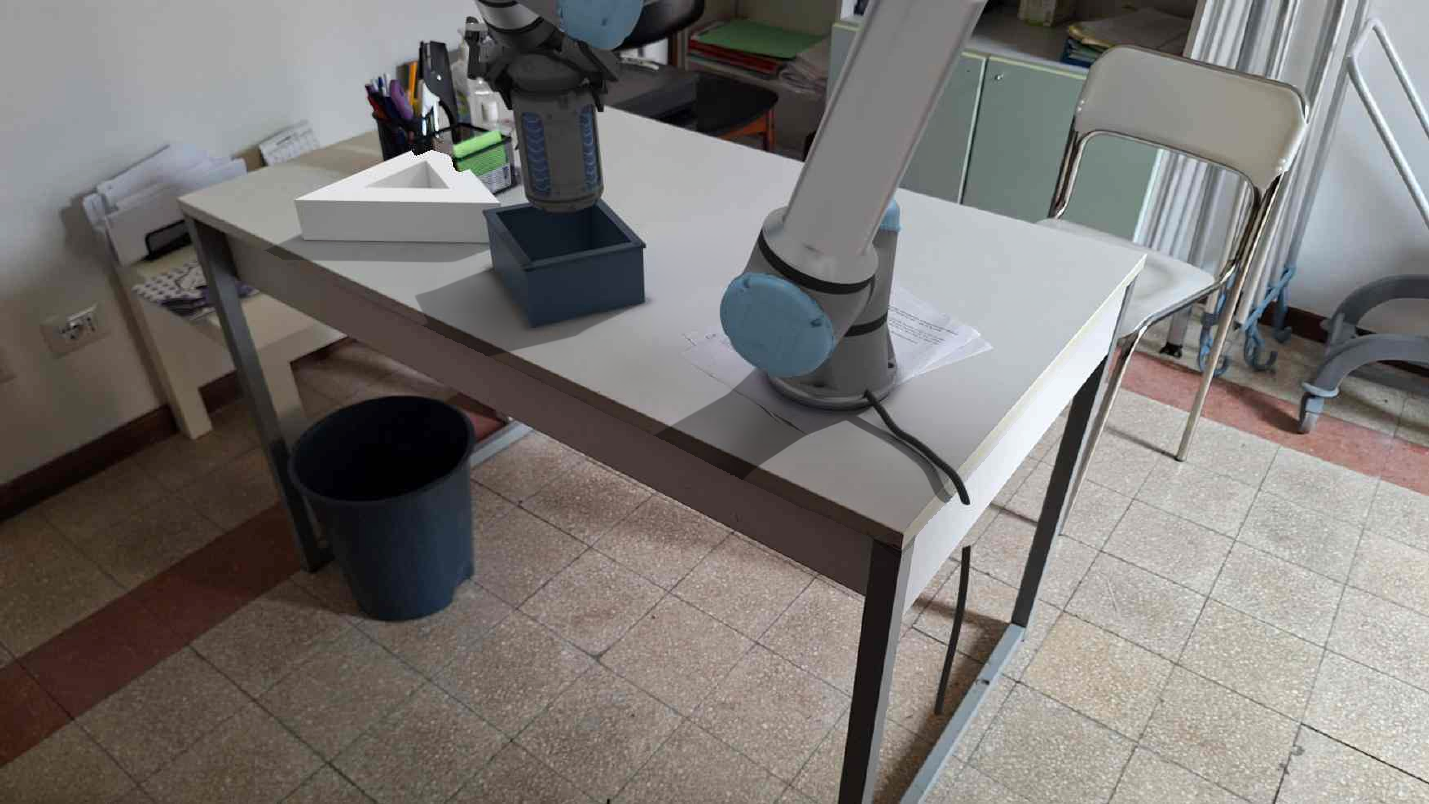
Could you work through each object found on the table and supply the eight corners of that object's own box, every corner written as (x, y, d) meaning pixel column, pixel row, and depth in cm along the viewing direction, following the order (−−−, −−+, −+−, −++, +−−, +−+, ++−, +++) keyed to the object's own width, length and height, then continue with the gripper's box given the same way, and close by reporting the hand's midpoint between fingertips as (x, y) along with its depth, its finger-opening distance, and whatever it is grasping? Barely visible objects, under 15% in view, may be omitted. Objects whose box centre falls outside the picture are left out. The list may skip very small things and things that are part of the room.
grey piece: (542, 179, 135) (515, -15, 121) (624, 194, 130) (606, -8, 116) (495, 206, 128) (461, 2, 114) (580, 223, 122) (556, 11, 108)
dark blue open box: (648, 302, 132) (646, 244, 127) (531, 329, 126) (524, 268, 121) (597, 245, 146) (593, 190, 141) (489, 266, 140) (482, 210, 135)
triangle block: (446, 174, 168) (440, 138, 164) (568, 207, 157) (564, 169, 153) (303, 239, 147) (293, 199, 143) (433, 283, 136) (425, 241, 132)
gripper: (626, -32, 103) (649, 75, 124) (408, -35, 104) (468, 72, 126) (621, 34, 101) (646, 131, 123) (400, 30, 103) (463, 127, 124)
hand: (556, 101), depth 124 cm, fingers closed on grey piece, 11 cm apart
